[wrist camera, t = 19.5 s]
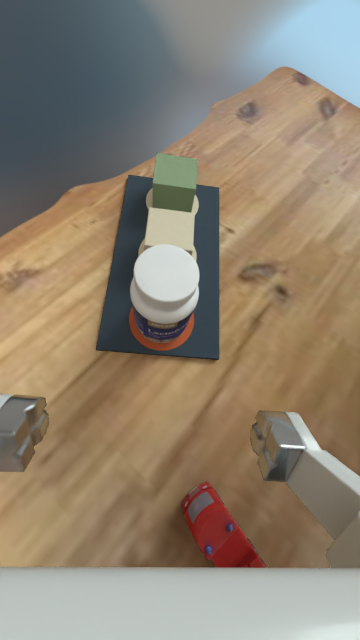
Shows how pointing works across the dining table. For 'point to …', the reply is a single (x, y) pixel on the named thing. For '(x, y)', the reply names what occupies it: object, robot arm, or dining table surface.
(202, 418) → the dining table surface
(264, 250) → the dining table surface
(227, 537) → the toy fire truck
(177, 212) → the cream block
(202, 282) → the mat
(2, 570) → the robot arm
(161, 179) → the sage block
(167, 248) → the pill bottle
